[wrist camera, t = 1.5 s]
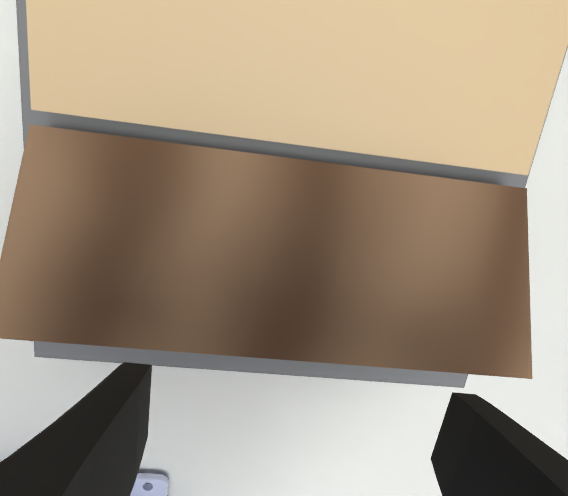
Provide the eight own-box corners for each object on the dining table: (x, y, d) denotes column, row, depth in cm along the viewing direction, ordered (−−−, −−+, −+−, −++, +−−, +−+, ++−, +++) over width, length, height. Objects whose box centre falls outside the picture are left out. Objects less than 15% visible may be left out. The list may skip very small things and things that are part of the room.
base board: (45, 344, 19) (17, 375, 17) (25, -128, 14) (-20, -176, 12) (454, 375, 21) (478, 406, 19) (571, -24, 16) (624, -48, 14)
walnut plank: (8, 335, 14) (-17, 336, 13) (47, 142, 15) (29, 124, 14) (506, 373, 16) (532, 378, 14) (503, 199, 17) (526, 188, 16)
